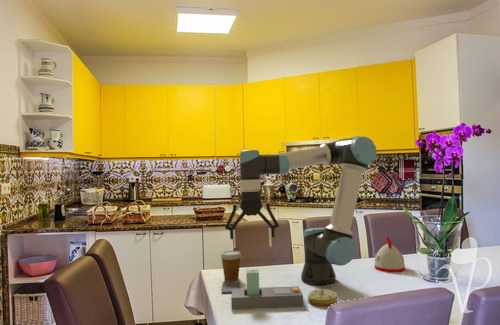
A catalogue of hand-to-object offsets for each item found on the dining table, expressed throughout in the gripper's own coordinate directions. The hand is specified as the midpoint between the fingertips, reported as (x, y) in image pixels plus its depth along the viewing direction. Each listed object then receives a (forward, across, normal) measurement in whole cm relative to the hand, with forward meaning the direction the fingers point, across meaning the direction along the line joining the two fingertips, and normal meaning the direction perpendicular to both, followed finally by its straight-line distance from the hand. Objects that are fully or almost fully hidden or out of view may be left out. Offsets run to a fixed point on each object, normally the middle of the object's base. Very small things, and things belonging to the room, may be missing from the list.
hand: (252, 247), depth 136 cm
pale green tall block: (+21, 0, +1) cm, 21 cm away
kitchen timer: (+22, -68, -38) cm, 81 cm away
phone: (+21, +9, -17) cm, 29 cm away
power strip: (+21, -4, +1) cm, 21 cm away
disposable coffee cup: (+21, +9, -30) cm, 38 cm away
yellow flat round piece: (+21, -25, +2) cm, 33 cm away
